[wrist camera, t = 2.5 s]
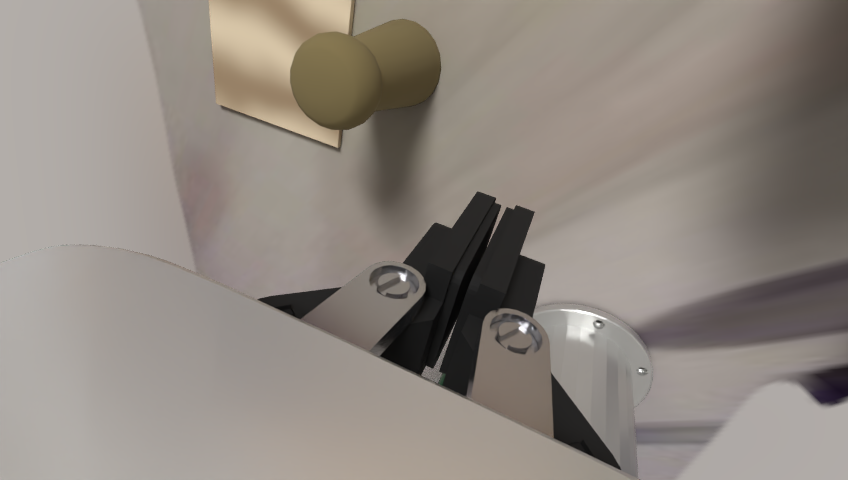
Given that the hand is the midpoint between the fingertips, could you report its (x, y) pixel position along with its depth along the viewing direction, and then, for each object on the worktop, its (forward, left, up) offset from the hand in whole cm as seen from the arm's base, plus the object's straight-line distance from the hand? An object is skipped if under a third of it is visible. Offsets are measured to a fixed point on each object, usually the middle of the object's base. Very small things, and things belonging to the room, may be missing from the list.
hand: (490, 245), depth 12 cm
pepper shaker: (0, +12, -20) cm, 24 cm away
